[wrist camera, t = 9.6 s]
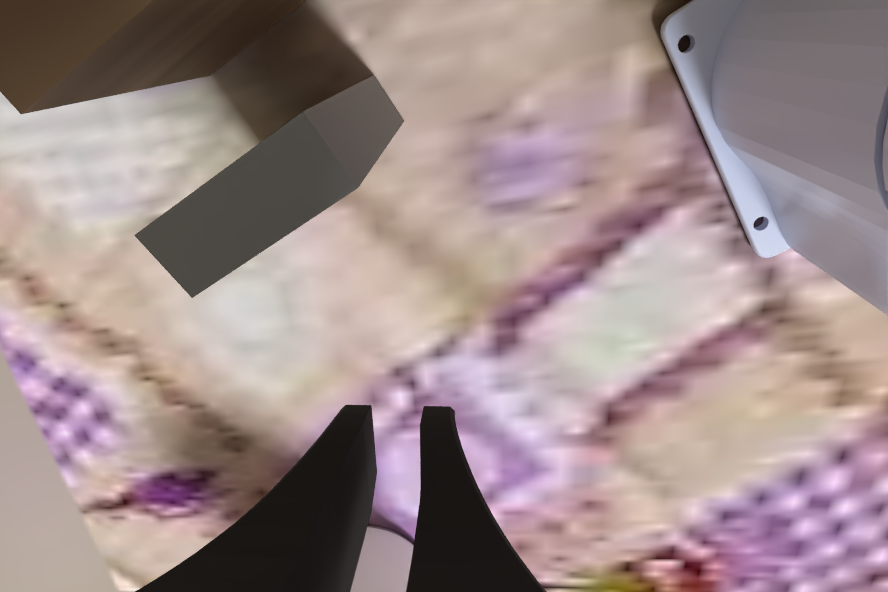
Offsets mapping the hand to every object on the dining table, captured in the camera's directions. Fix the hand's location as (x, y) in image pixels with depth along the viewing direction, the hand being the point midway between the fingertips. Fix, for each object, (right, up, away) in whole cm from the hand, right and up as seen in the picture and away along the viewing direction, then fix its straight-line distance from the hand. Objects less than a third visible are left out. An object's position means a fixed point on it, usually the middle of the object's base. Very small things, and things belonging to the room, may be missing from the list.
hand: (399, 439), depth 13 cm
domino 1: (-6, +13, +5) cm, 15 cm away
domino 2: (-3, +9, +7) cm, 12 cm away
